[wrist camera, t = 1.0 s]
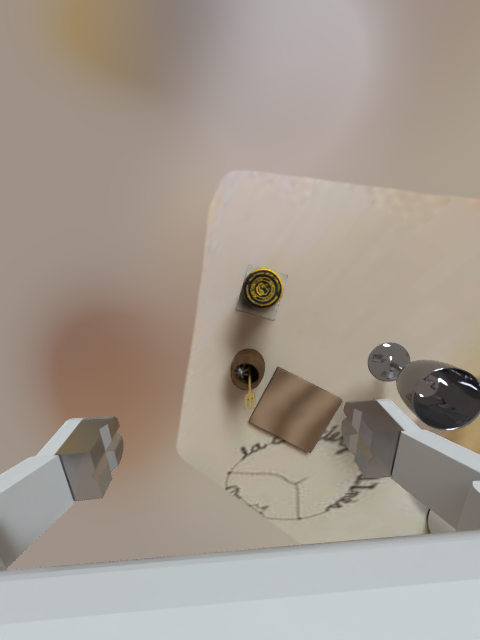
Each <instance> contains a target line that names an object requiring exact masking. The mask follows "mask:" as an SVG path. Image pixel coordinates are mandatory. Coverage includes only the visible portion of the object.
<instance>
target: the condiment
mask: <svg viewBox="0 0 480 640" xmlns="http://www.w3.org/2000/svg"><path fill="white" fill-rule="evenodd" d="M287 276H288V275H284V274H281V273H277V272H274V271H272V270H270V269H266V268H259V267H256V266H252V265H248V268H247V272H246V276H245V279H244V283H243V286H242V290H241V293H240V297H239V300H238V304H237V307H236V310H240V311H243V312H247V313H250V314H254V315H257V316H260V317H264V318H267V319H271V320H274V319H275V315H276V312H277V309H278V306H279V302H280V299H281V297H282V294H283V289H284V286H285V283H286V279H287Z"/></svg>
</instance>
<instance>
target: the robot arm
mask: <svg viewBox="0 0 480 640" xmlns="http://www.w3.org/2000/svg"><path fill="white" fill-rule="evenodd" d="M343 412H344V413H345V415H346V416H347V417H346V418H345V419H344V420H343V422H342V435H343V439H344V442H345V444H346V446H347V448H348V450H350V451H351V452H353V453H354V454H356V456H355V462H356V463H357V465H358V467H359V468H360V470H361V472H362V474H363V475H364V477H365V478H381V477H391V479H393V480H394V481H395V482H396V483H398V484H399V485H400V486H401V487H403V488H404V489H405V490H406V491H408V492H409V493H410V494H412V495H413V496H414V497H415V498H417V499H418V500H419V501H420V502H422V503H423V504H424V505H425V506H427V507H428V508H429V509H430V512H429V516H428V527H429V530H430V533H431V534H420V535H408V536H397V537H385V538H374V539H362V540H351V541H339V542H328V543H316V544H305V545H293V546H283V547H271V548H259V549H248V550H236V551H226V552H214V553H203V554H191V555H180V556H167V557H156V558H144V559H132V560H121V561H109V562H97V563H86V564H75V565H62V566H51V567H39V568H28V569H16V570H7V567H8V566H10V565H11V564H12V562H14V561H15V560H16V559H17V558H18V557H19V556H20V555H21V554H22V553H23V552H24V551H25V550H26V549H27V548H28V547H29V546H30V545H31V544H32V543H33V542H34V541H35V540H36V539H37V538H38V537H40V535H42V534H43V533H44V532H45V531H46V530H47V529H48V528H49V527H50V526H51V525H52V524H53V523H54V522H55V521H56V520H57V519H58V518H59V517H60V516H61V515H62V514H63V513H64V512H65V511H66V510H67V509H68V508H70V507H71V506H72V505H73V504H74V501H81V500H90V499H100V498H103V497H104V495H105V492H106V490H107V488H108V486H109V484H110V482H111V480H112V475H111V472H112V471H113V470H114V469H115V468H116V467H118V465H119V463H120V460H121V458H122V453H123V439H122V436H121V435H120V434H118V433H117V430H118V428H119V422H118V419H117V418H116V417H93V418H92V417H90V418H72V419H70V420H67V421H66V422H65V423H64V424H63V426H62V427H61V428H60V429H59V430H58V431H57V432H56V434H55V435H54V436H53V437H52V438H51V439H50V440H49V442H48V443H47V444H46V445H45V446H44V447H43V448H42V450H41V451H40V452H39V453H38V454H37V455H36V456H35V457H29V458H28V459H26V460H24V461H23V462H21V463H19V464H18V465H16V466H14V467H12V468H11V469H9V470H8V471H6V472H4V473H2V474H1V475H0V640H480V455H479V454H477V453H475V452H473V451H470V450H468V449H466V448H464V447H462V446H460V445H458V444H455V443H453V442H451V441H449V440H447V439H445V438H443V437H440V436H438V435H436V434H434V433H432V432H430V431H427V430H421V429H420V428H419V427H418V426H417V425H416V424H415V423H414V422H413V421H412V420H411V419H410V418H409V417H408V416H407V415H406V414H404V413H403V412H402V411H401V410H400V409H399V408H398V407H397V406H396V405H395V404H394V403H393V402H392V401H391V400H389V399H377V400H370V401H355V402H346V403H345V405H344V411H343Z"/></svg>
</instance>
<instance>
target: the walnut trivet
mask: <svg viewBox="0 0 480 640" xmlns="http://www.w3.org/2000/svg"><path fill="white" fill-rule="evenodd" d="M341 403H342V400H341V398H339V397H337V396H335V395H333V394H331V393H329V392H327V391H325V390H323V389H321V388H319V387H317V386H315V385H313V384H311V383H309V382H308V381H306V380H304V379H302V378H300V377H298V376H296V375H294V374H292V373H290V372H288V371H286V370H284V369H282V368H280V367H277V369H276V371H275V373H274V375H273V377H272V378H271V380H270V382H269V384H268V386H267V388H266V389H265V391H264V393H263V395H262V397H261V399H260V401H259V402H258V404H257V406H256V408H255V410H254V412H253V413H252V415H251V417H250V420H249V422H251V423H253V424H255V425H257V426H258V427H260V428H262V429H264V430H266V431H268V432H270V433H272V434H274V435H276V436H278V437H280V438H282V439H284V440H286V441H287V442H289V443H291V444H293V445H295V446H297V447H299V448H301V449H303V450H305V451H307V452H309V453H311V452H312V450H313V449H314V447H315V445H316V444H317V442H318V440H319V439H320V437H321V435H322V434H323V432H324V431H325V429H326V427H327V426H328V424H329V422H330V421H331V419H332V417H333V416H334V414H335V412H336V411H337V409H338V408H339V406H340V404H341Z"/></svg>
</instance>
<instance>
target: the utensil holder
mask: <svg viewBox="0 0 480 640" xmlns="http://www.w3.org/2000/svg"><path fill="white" fill-rule="evenodd" d="M264 371H265V363H264V359H263V357H262V355H261V354H260V353H259V352H258V351H256V350H253V349H244V350H242V351H240V352H239V353H238V354H237V355H236V356H235V358H234V360H233V362H232V365H231V378H232V381H233V383H234V384H235V385H236V386H237V387H238V388H240V389H242V390H249V393H248V394H247V395H246V396H245V410H247V400H249V409H251V399H252V398H253V408H255V394H254V393H251V389H254V388H256V387H257V386H258V385H259V383H260V382H261V380H262V378H263V376H264Z"/></svg>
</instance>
